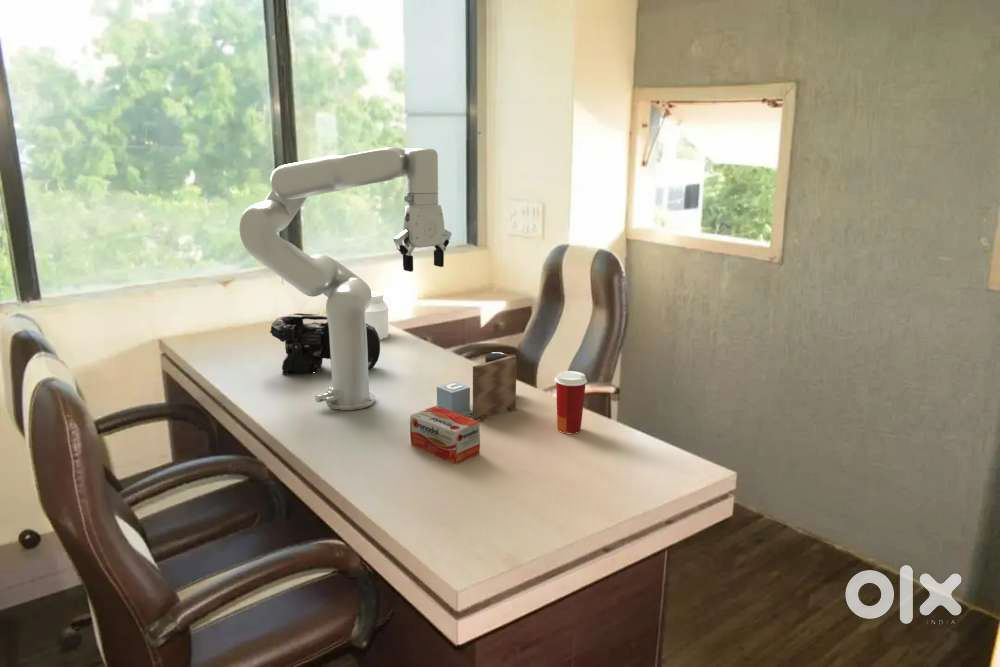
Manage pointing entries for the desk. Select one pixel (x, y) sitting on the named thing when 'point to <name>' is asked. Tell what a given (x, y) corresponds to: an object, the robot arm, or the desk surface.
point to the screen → (494, 387)
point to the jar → (377, 314)
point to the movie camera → (312, 342)
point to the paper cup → (570, 400)
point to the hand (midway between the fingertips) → (423, 268)
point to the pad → (465, 413)
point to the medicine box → (445, 434)
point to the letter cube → (453, 397)
